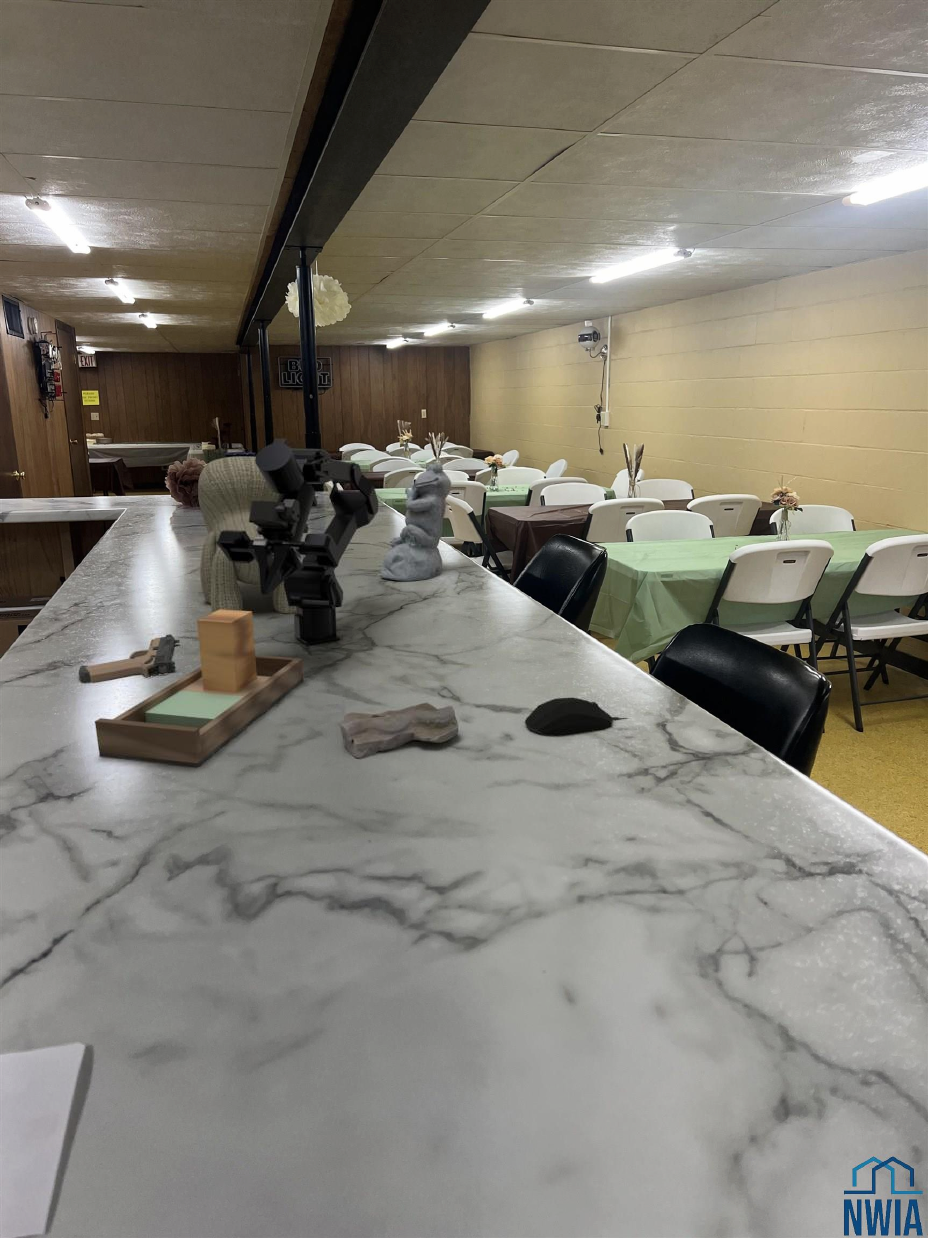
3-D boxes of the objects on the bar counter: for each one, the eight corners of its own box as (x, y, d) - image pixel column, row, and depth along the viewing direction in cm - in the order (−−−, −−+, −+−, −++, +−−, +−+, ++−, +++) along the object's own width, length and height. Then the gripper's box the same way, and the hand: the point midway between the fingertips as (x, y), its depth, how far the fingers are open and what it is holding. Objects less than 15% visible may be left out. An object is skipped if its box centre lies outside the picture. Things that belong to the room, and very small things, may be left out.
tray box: (225, 673, 121) (223, 646, 119) (303, 680, 118) (301, 652, 117) (99, 756, 92) (94, 721, 91) (197, 767, 90) (194, 731, 89)
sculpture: (379, 562, 200) (393, 448, 188) (438, 570, 203) (456, 458, 190) (378, 590, 184) (393, 467, 172) (442, 598, 186) (462, 477, 174)
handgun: (76, 688, 116) (175, 677, 120) (74, 672, 116) (173, 661, 119) (95, 652, 134) (181, 643, 138) (93, 638, 133) (179, 629, 137)
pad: (181, 704, 107) (179, 690, 107) (254, 711, 105) (253, 697, 104) (146, 726, 100) (145, 712, 99) (224, 734, 97) (223, 720, 97)
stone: (346, 764, 91) (345, 732, 90) (335, 732, 100) (333, 703, 99) (465, 748, 96) (465, 717, 95) (444, 719, 105) (444, 691, 103)
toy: (292, 582, 183) (284, 452, 174) (314, 614, 155) (307, 462, 147) (200, 589, 176) (187, 454, 167) (206, 623, 148) (192, 464, 140)
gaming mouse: (640, 729, 102) (642, 701, 101) (534, 741, 98) (535, 712, 97) (619, 711, 108) (621, 685, 106) (518, 722, 104) (519, 694, 103)
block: (225, 675, 113) (219, 609, 110) (256, 678, 112) (252, 611, 109) (203, 689, 107) (197, 620, 104) (236, 692, 106) (230, 622, 103)
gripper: (217, 478, 120) (184, 561, 113) (330, 481, 116) (304, 567, 109) (245, 521, 130) (217, 601, 122) (350, 525, 126) (327, 608, 118)
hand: (264, 594), depth 118 cm, fingers closed
